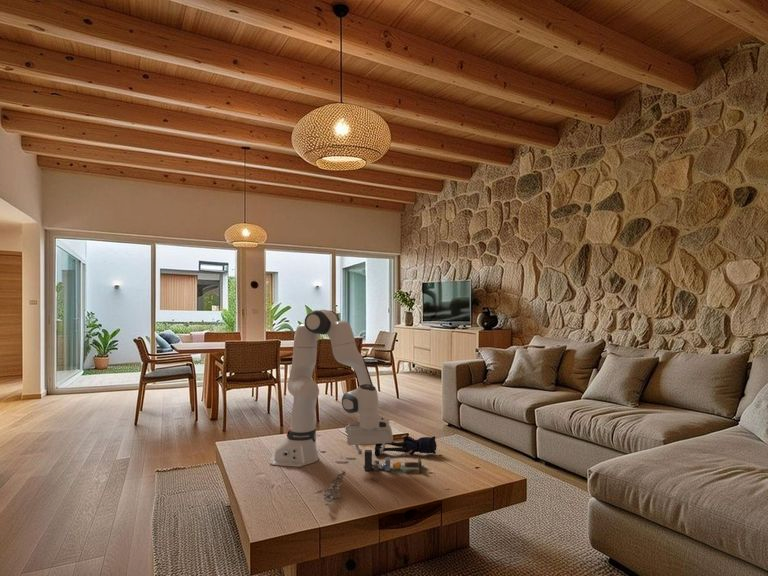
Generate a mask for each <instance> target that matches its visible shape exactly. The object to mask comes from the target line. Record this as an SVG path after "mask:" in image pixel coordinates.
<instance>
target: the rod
mask: <svg viewBox="0 0 768 576" xmlns="http://www.w3.org/2000/svg"><path fill="white" fill-rule="evenodd" d="M384 461H385V463H384V464H382V463H381V464H380V463H379V464H373V449H365V450H364V464H363V470H364V471H365V472H366V471H367V472H369V471H371V472H372V471H373V470H374V465H379V470H385V471H386V472H390V471H391V457H390V456H385V460H384Z"/></svg>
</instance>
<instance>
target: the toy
mask: <svg viewBox="0 0 768 576" xmlns="http://www.w3.org/2000/svg"><path fill="white" fill-rule="evenodd" d="M401 439H403V441H401V442H400V441H399V442H396V441H395V442H394V441H393V442H392V443H385V447H384V449H383V453H384V452H398V453H401V455H400V456H401V457H406V456H408V455H414V454H415V453H420V454H427V455H428V454H432V455H436V454H437V453H436V450H437V441H436V436H435V435H434V436H432V437H431V436H430V437H429V436H423V437H420V438H418V439H415V438H412V436H410V435H407V434H406V435H402V436H401ZM386 445H389V446H394V447H386ZM380 448H382V444H375V446H374V455H377V456H378V455H381V454H380Z"/></svg>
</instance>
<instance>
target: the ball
mask: <svg viewBox="0 0 768 576" xmlns="http://www.w3.org/2000/svg"><path fill="white" fill-rule="evenodd" d="M401 465H402V464H401V462H400V461H397V460H395V461H394V462H393V463H392V468H393V467H394V469H396V470H398V469H400V468H401Z"/></svg>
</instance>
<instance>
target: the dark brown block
mask: <svg viewBox="0 0 768 576" xmlns="http://www.w3.org/2000/svg"><path fill="white" fill-rule="evenodd" d="M374 464H380V460H374ZM379 471H380V469H379V465H374V469H373V473H379Z"/></svg>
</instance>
